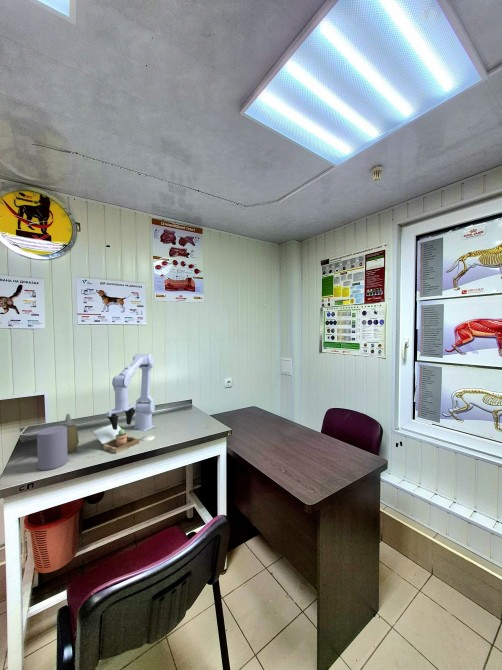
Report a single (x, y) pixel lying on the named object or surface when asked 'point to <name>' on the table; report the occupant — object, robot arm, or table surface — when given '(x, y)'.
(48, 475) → the table surface
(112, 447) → the cold frame
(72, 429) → the squeeze bottle
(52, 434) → the container
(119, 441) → the clay pot
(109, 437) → the lid
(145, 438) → the saucer
